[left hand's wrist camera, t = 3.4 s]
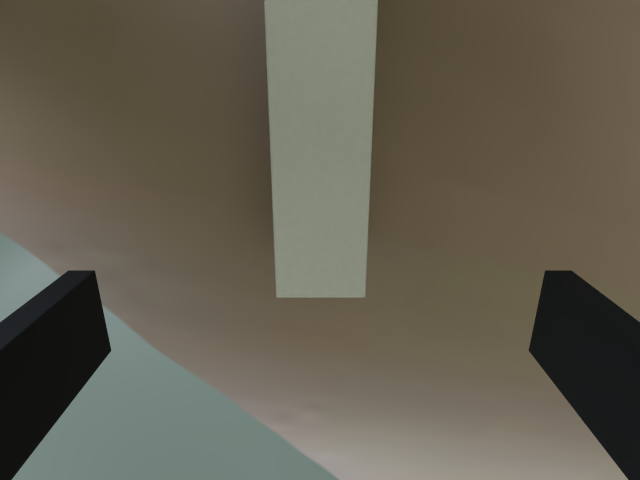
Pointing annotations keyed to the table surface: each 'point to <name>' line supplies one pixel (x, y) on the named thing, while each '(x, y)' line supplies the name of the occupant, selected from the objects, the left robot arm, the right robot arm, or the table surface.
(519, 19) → the table surface
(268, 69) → the beam
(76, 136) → the table surface
